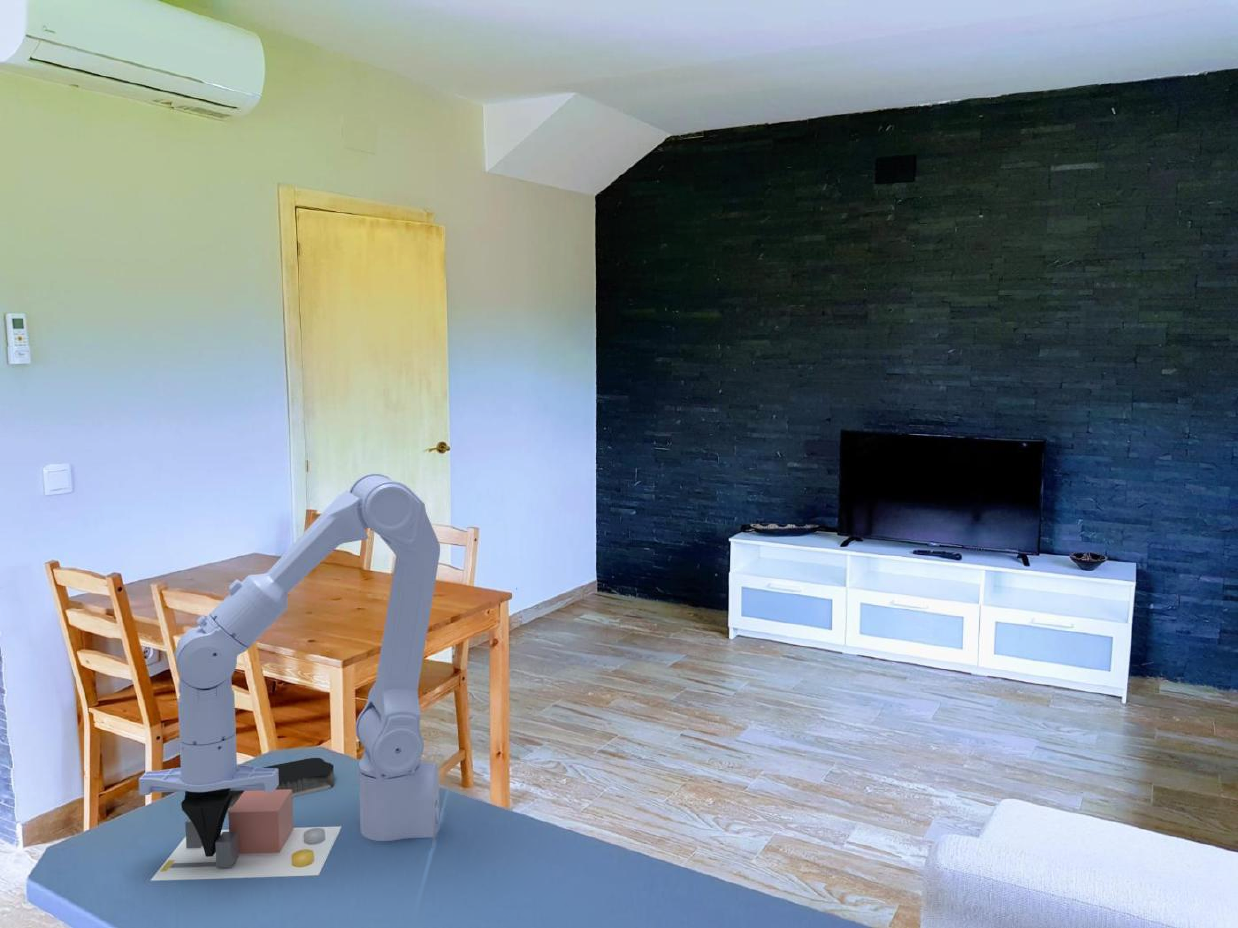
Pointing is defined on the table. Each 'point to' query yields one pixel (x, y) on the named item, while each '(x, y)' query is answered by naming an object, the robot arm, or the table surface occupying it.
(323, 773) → the black brush
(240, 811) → the reddish pink block
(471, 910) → the table surface
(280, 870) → the breaker panel
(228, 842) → the handle
